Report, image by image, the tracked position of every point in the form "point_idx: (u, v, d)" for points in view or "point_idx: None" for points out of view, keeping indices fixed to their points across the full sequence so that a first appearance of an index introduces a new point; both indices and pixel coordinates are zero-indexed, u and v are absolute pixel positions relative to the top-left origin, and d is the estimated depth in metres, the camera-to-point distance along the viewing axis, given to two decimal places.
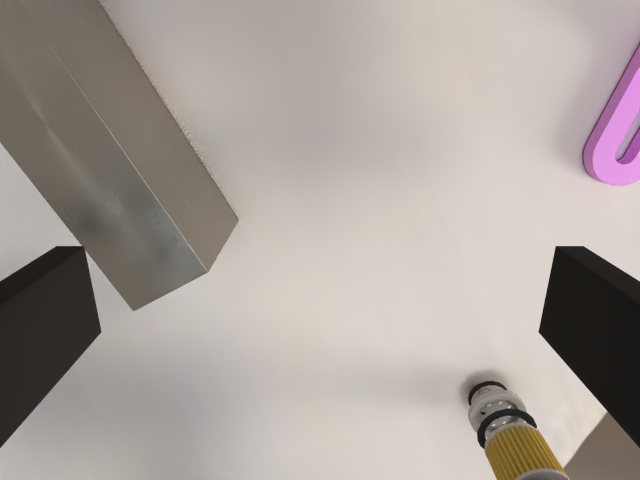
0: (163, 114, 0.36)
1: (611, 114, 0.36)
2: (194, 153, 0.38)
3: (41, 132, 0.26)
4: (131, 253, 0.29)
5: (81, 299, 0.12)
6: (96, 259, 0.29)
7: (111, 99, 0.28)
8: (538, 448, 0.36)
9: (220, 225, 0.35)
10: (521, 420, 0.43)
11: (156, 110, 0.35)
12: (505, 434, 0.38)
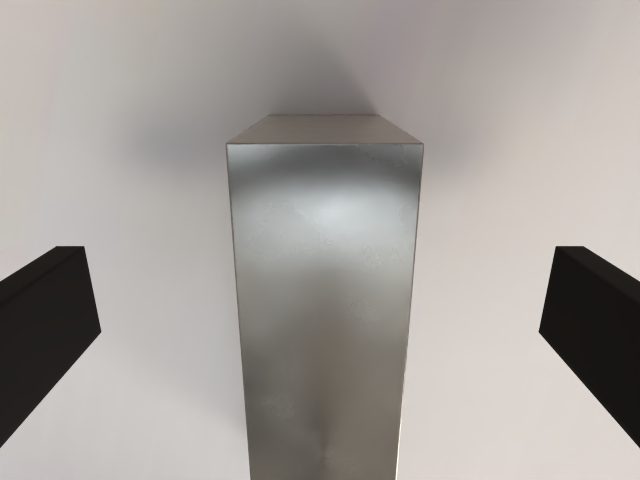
0: None
1: None
2: None
3: (310, 457, 0.18)
4: None
5: (81, 299, 0.12)
6: None
7: None
8: None
9: None
10: None
11: None
12: None
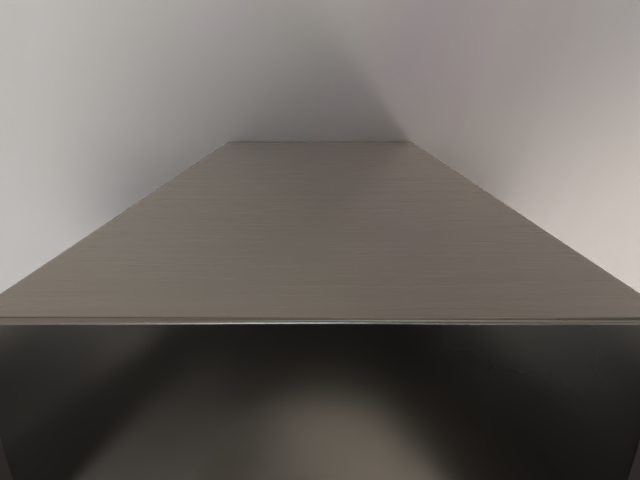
0: None
1: None
2: None
3: None
4: None
5: None
6: None
7: None
8: None
9: None
10: None
11: None
12: None
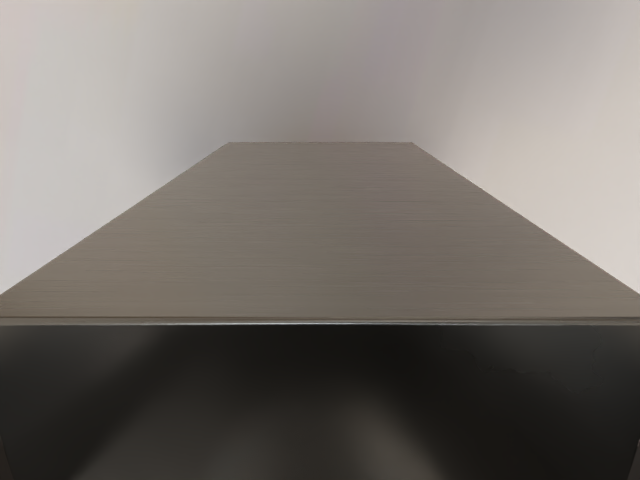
0: None
1: None
2: None
3: None
4: None
5: None
6: None
7: None
8: None
9: None
10: None
11: None
12: None
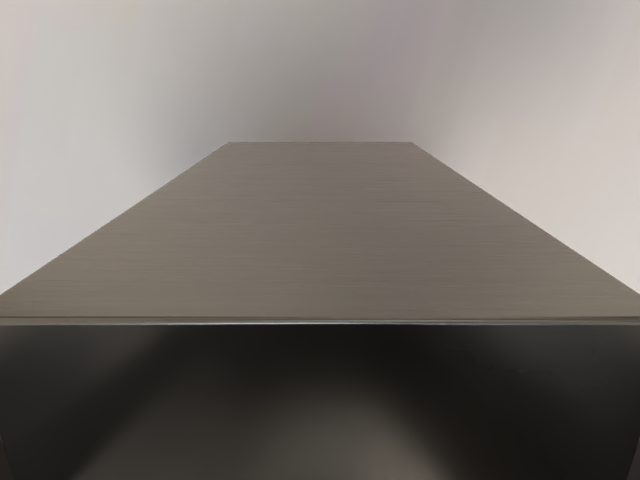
0: None
1: None
2: None
3: None
4: None
5: None
6: None
7: None
8: None
9: None
10: None
11: None
12: None
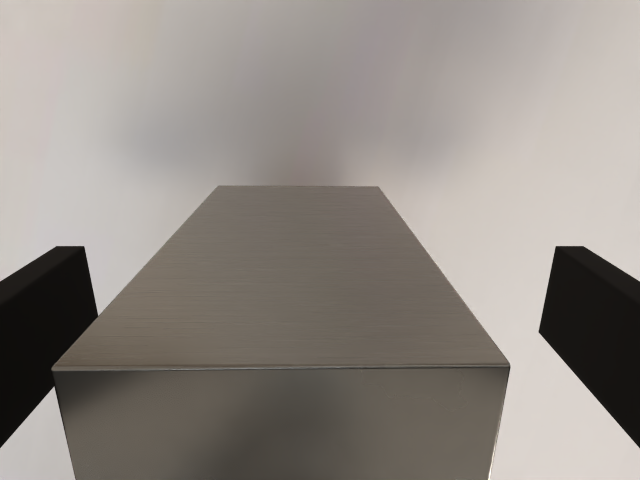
0: None
1: None
2: None
3: None
4: None
5: (81, 299, 0.12)
6: None
7: None
8: None
9: None
10: None
11: None
12: None
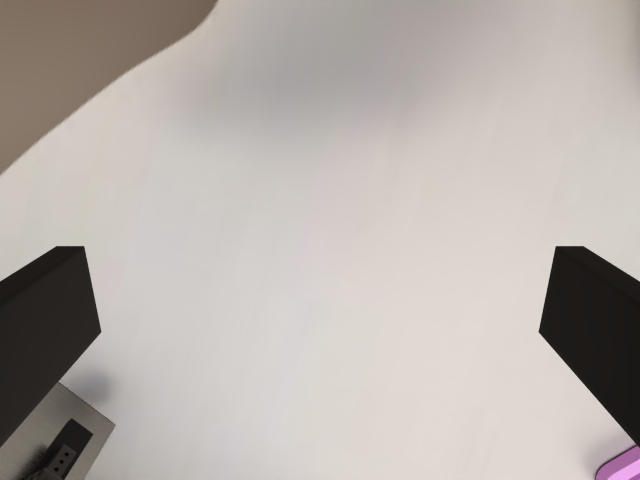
0: None
1: (633, 460, 0.49)
2: (62, 389, 0.47)
3: None
4: None
5: (81, 299, 0.12)
6: None
7: None
8: None
9: (84, 454, 0.44)
10: None
11: None
12: None
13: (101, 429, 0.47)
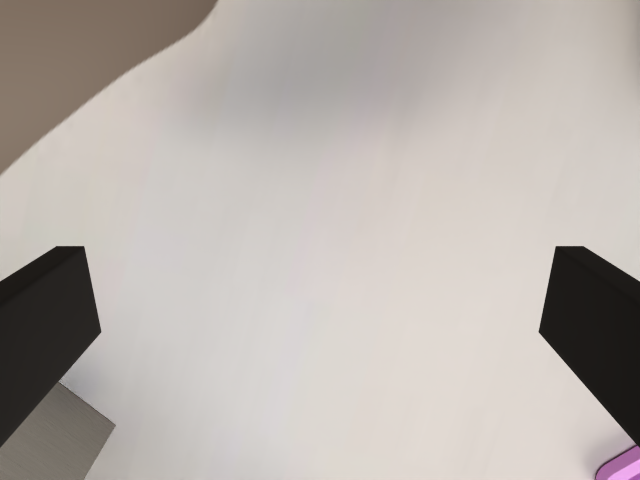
0: None
1: (633, 460, 0.49)
2: (62, 389, 0.47)
3: None
4: None
5: (81, 299, 0.12)
6: None
7: None
8: None
9: (84, 454, 0.44)
10: None
11: None
12: None
13: (101, 429, 0.47)
